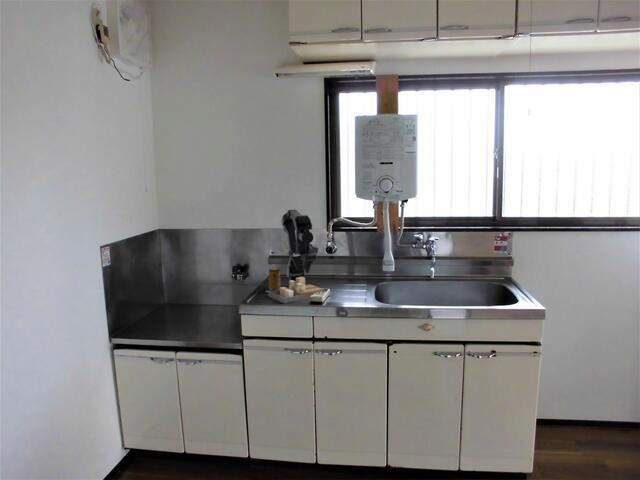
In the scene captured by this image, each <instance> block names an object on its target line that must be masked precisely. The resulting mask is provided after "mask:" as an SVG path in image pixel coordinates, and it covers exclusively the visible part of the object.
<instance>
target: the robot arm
mask: <svg viewBox="0 0 640 480" xmlns="http://www.w3.org/2000/svg"><path fill="white" fill-rule="evenodd" d="M280 223H281V226H282V229H283V231H284V232H285V234H286V236H287V237H286V238H287V242H288V243H287V245H288V256H289V261H288V263H287V267H286V272H285V273H286V276H287V278H289V280H293V281H296V278H298V277H304V276H305V274H309V272H310V269H311V266H312V264H313V262H314V261H315V262H316V260H317V259H318V255H317V254H318V253H319V247H316V246H313V244H312V243H313V240H314V235H313V233H312V232H311V231H310V230H312V229H313V224H312V221H311V218H310V217H309V215H307V214H301V213H300V212H299V211H298V209H288V210H287V211H286V213H285V214H283V215H282V217H281V222H280ZM287 288H289V285H287Z"/></svg>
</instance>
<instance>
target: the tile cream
mask: <svg viewBox="0 0 640 480" xmlns="http://www.w3.org/2000/svg"><path fill="white" fill-rule="evenodd" d="M292 296H293V290H290V289H287V290H285V298H286V297H292Z"/></svg>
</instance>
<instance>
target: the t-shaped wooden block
mask: <svg viewBox="0 0 640 480" xmlns="http://www.w3.org/2000/svg"><path fill="white" fill-rule="evenodd" d="M288 284H289V285H288V286H289V287H288V288H290V289H292V290H295V291H297V292H300V293H304V290H305V285H306V278H305V277H304V276H301V277H298V278H296V281H293V280H290V279H289V281H288Z"/></svg>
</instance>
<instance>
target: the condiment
mask: <svg viewBox="0 0 640 480" xmlns="http://www.w3.org/2000/svg"><path fill="white" fill-rule="evenodd" d="M268 271H269V272H268V273H269V274H268V290H266V291H265V292H266V293H268V294H269V291H275V290H280V288H281V287H282V286H281V284H282V283H281V274H280V273H281V272H280V269H279V268H278V267H276V268H275V267H273V268H272V267H271V268H270V269H268Z"/></svg>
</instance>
